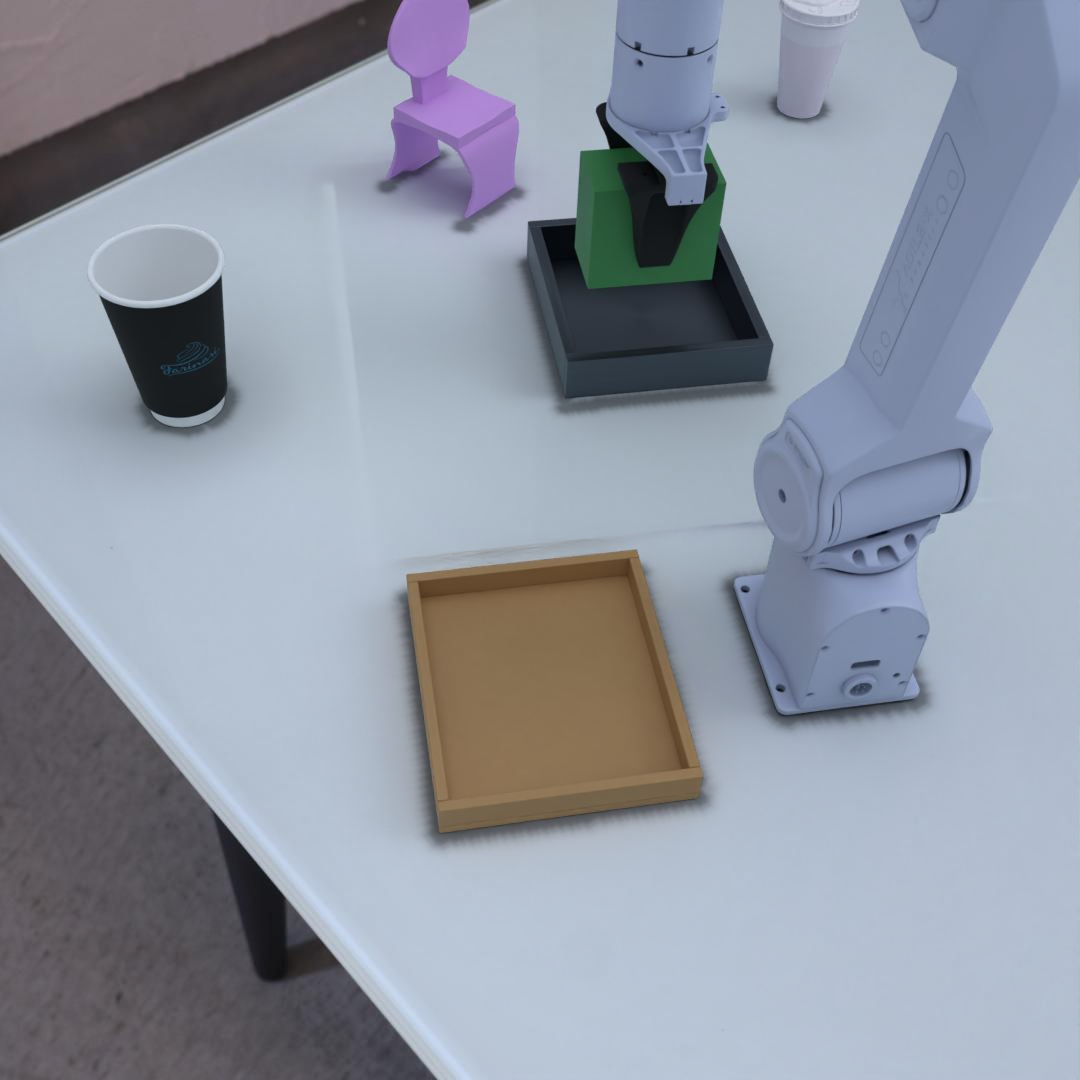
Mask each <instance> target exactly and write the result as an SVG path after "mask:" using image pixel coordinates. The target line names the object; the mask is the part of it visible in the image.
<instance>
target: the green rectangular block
mask: <svg viewBox="0 0 1080 1080" xmlns="http://www.w3.org/2000/svg"><path fill="white" fill-rule="evenodd" d="M639 161H648V160H647V159H646V158H645V157H644V156H643V155H641V154H640V153H639V152H638V151H637V150H636V149H635V148H634V147H633V148H618V149H609V148H604V149H603V148H602V149H589V150H588V149H587V150H580V152H579V165H578V167H579V168H578V187H577V201H576V216H575V218H576V233H575V250H576V253H577V256H578V259H579V263H580V266H581V269H582V272H583V275H584V278H585V282H586V285H587V288H588V289H596V288H608V287H621V286H634V285H646V284H659V283H672V282H685V281H697V280H710V279H712V274H713V268H714V261H715V255H716V248H717V242H718V235H719V229H720V226H721V222H722V214H723V209H724V204H725V203H724V202H725V196H726V190H727V181H726V178H725V176H724V174H723V172H722V170H721V168H720V166H719V164H718V162H717V160H716V157H715V155H714V153H713V151H712V149H711V147H710V145H709V143H708V142H707V145H706V150H705V156H704V163H713V166H714V168H715V170H716V172H717V174H718V184H717V187H716V190H715V191H714V192H713V193H712V194H711V195H710V196H709V197H708V198H707V199H706V200H705V201H704V203H703V204H702V205H701V206H700V208H699V209H698V210H697V212H696V213H695V215H694V216H693V218H692V220H691V221H690V223H689V225H688V227H687V229H686V232H685V234H684V236H683V238H682V241H681V243H680V246H679V248H678V250H677V253H676V255H675V257H674V259H673V261H672V263H671V265H670V266H659V267H646V268H640V267H639V265H638V263H637V259H636V256H635V250H634V242H633V223H632V213H631V206H630V202H629V197H628V194H627V192H626V190H625V188H624V186H623V184H622V181H621V178H620V176H619V173H618V170H617V164H618V163H624V162H639Z"/></svg>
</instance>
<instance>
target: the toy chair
mask: <svg viewBox="0 0 1080 1080" xmlns="http://www.w3.org/2000/svg"><path fill="white" fill-rule="evenodd" d="M470 16H471V12H470V4H469V1H468V0H402V2H401V3H400V5H399V6H398V9H397V10H396V13H395V15H394V17H393V20H392V23H391V25H390V29H389V31H388V32H389V33H388V36H387V42H386V45H387V47H386V49H387V54H388V58H389V60H390V62H391V63H392V64H393V65H394V66H395V67H396V68H397V69H399V70H401V71H402V72H404V73H405V74H407V75H408V76H409V78H410V85H411V87H410V88H411V93H412V97H410V98H408V99H405V100H403V101H402V102H399V103H398V104H396V105H394V106H393V107H392V109H393V118H392V119H391V121H390V127H391V131H392V135H393V139H394V153H393V158H392V161H391V164H390V167H389V170H388V172H387V175H386V179H388V180H390V179H392V178H394V177H395V176H397V175H399V174H401V173H402V172H415V171H417V170H418V169H420V168H422V167H423V166H425V165H427V164H428V163H430V162H432V161H433V160H435V159H436V158H438V157H440V155H441V150H440V145H439V141H440V142H442V143H443V144H445V145H447V146H449V147H450V148H452V149H453V150H454V151H455V152H457V155H458V156H459V158H460V159H461V162H462V164H463V165H464V166H465V169H466V170H467V173H468V175H469V177H470V181H471V193H470V198H469V201H468V205H467V207H466V209H465V212H464V214H463V218H464V219H468V218H470V217H471V216H473V215H474V214H476V213H477V212H479V211H480V210H482V209H484V208H485V207H486V206H488V205H490V204H491V203H492V202H494V201H496V200H497V199H499V198H500V197H502V196H503V195H504V194H507V193H508V192H509V191H511V190H512V189H514V188H515V187H516V177H515V176H516V175H515V169H516V167H515V165H516V155H517V148H518V143H519V135H520V122H519V118H518V117H517V115H516V107H517V106H516V105H517V104H516V103H514V102H511V101H510V100H509V99H505V98H503V97H501V96H497V95H495V94H492V93H489V92H487V91H485V90H483V89H481V88H479V87H476V86H474V85H473V84H472V83H469V82H467V81H465V80H464V79H461V78H459V77H457V76H455V75H452V74H450V75H448V68H449V66H450V65H451V64H452V63H453V62H454V61H455V60H456V59H457V58H458V57H459V56H460V55H461V54H462V53H463V51H464V50H465V49H466V48H467V41H468V35H469V27H470V18H471V17H470ZM438 140H439V141H438Z"/></svg>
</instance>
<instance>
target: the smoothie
mask: <svg viewBox="0 0 1080 1080" xmlns="http://www.w3.org/2000/svg"><path fill="white" fill-rule="evenodd" d="M777 4H778V9H779V10H780V13H781V18H780V35H779V36H780V39H779V57H778V58H779V59H778V77H777V78H778V79H777V98H776V99H777V100H776V107H777V110H778V111H779V112H780V113H782V114H783V115H786V116H787V117H790V118H793V119H810V118H814V117H816V116H818V115H819V114H820V112H821V110H822V106H823V103H824V101H825V98H826V95H827V92H828V89H829V86H830V83H831V81H832V77H833V75H834V72H835V69H836V66H837V64H838V60H839V59H840V55H841V51H842V49H843V47H844V43H845V40H846V37H847V35H848V32H849V28H850V26H851V23H852V22H853V21H855V19H856V18H857V16H858V14H859V7H860V0H779V1H778V2H777Z"/></svg>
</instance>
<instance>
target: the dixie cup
mask: <svg viewBox="0 0 1080 1080" xmlns="http://www.w3.org/2000/svg"><path fill="white" fill-rule="evenodd" d="M225 266H226V255H225V252H224V249H223V248H222V246H221V244H220V242H219V241H218V240H217V239H216V238H214V237H213V236H212V235H211V234H209V233H207V232H205V231H203V230H201V229H198V228H195V227H193V226H189V225H184V224H179V223H178V224H176V223H157V224H156V223H154V224H153V223H152V224H146V225H141V226H137V227H133V228H129V229H128V230H124V231H122V232H121V231H120V232H119V233H117V234H115V235H114V236H112V237H109V238H108V239H107V240H105V241H104V242H102V244H100V245H99V246H98V247H97V248H96V249H95V250H94V251H93V253H92V254H91V256H90V257H89V259H88V262H87V266H86V278H87V281H88V283H89V285H90V286H91V288H92V289H93V291H94V292H95V293H96V294H98V296H99V299H100V301H101V303H102V306H103V309H104V311H105V313H106V316H107V318H108V321H109V323H110V325H111V328H112V330H113V332H114V335H115V338H116V340H117V342H118V345H119V348H120V349H121V352H122V354H123V357H124V360H125V362H126V365H127V366H128V368H129V371H130V374H131V376H132V379H133V381H134V383H135V385H136V388H137V391H138V392H139V395H140V398H141V400H142V402H143V403H144V406H146V408H148V410H149V411H150V413H151V414H152V416H153V417H154V419H156V420H157V422H159V423H160V424H163V425H166V426H170V427H175V428H191V427H195V426H199V425H202V424H205V423H207V422H208V421H209V422H210V420H212V419H214V418H215V417H216V416H217V415H218V414H219V413H221V411H222V409H223V408H224V405H225V400H226V399H225V398H226V397H225V396H226V394H227V391H228V369H227V351H226V350H227V349H226V332H225V329H226V328H225V313H224V295H223V293H224V292H223V272H224V270H225Z"/></svg>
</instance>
